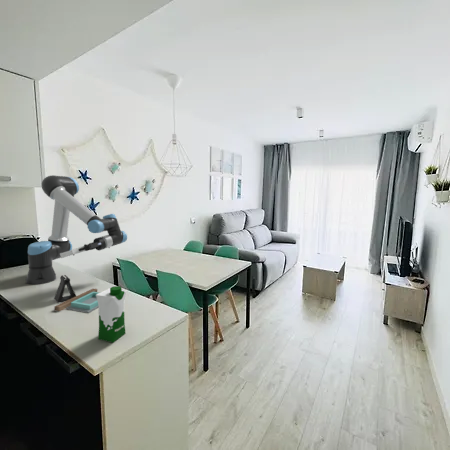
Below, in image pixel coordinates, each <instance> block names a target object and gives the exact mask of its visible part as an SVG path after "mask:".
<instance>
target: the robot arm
mask: <svg viewBox="0 0 450 450" xmlns="http://www.w3.org/2000/svg"><path fill="white" fill-rule="evenodd" d="M40 184H41V185H40V186H41V189H42V192H43V193H44V194H45V195H46V196H48V197H49V198H50V199H51V200H53V201H54V207H53V218H52V225H51V228H52V229H51V235H50V236H48V238H47V240H40V241H35V242H33V243H30V244H29V245H28V247H27V261H28V271H27V274H26V275H27V276H26V277H25V283H26V284H28V285H41V284H46V283H47V284H48V283H51V282H53V281H55V280H56V279H57V273H56V272H55V269H54V267H53V261H55V260H58V259H63V258H66V257H67V258H68V257H70V256H75V255H76V254H79V253H82V252H88V251H92V250H96V251H103V250H105V249H110V248H111V247H114V246H117V245H120V244H123V243H125V242H126V241H127V239H128V234H127V233H126V231H125V230H121V227H120V225H119V222H118V218H117V216H116V214H114V213H110V214H106V215H103V216H102V218H101V217H99V215H97V214H95V212H93V211H91V209H89V208H88V207H87V206H85V205H84V204H83V203H82V202H81V201H79V200H78V199H77V198H75V195H76V194H77V193H79V190H80V185H79V182H77V180H76V179H75V178H73V177H70V176H66V175H65V176H63V175H48V176H46V177H44V178H43V179H42V181H41V183H40ZM70 212H71V214H73V215H74V216H76V218H78V219H79V220H81V222H82V223H84V224H85V225H87V229H88V231H89V232H90V233H93V234H99V233H103V232H107V235H103V236H99V237H95V238H94V239H93V242H89V243H87V244H86V243H84V245H83V246H78V247H76V248H73V244H72V241H70V237H68V230H69V229H68V228H69V221H70V220H69V218H70ZM50 281H51V282H50Z"/></svg>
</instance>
